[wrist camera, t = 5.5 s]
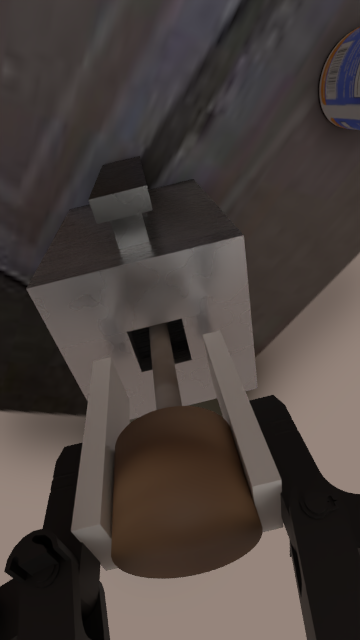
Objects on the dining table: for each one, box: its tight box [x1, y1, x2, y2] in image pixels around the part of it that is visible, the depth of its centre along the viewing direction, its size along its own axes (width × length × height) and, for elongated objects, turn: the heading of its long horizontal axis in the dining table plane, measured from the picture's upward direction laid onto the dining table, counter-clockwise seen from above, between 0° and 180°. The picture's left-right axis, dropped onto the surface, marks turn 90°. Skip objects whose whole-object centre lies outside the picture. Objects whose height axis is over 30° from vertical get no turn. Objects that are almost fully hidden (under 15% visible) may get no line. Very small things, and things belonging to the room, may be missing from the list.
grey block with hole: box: [26, 156, 258, 419], centre depth 20 cm, size 9×11×12 cm
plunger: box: [111, 322, 263, 578], centre depth 16 cm, size 7×7×18 cm
